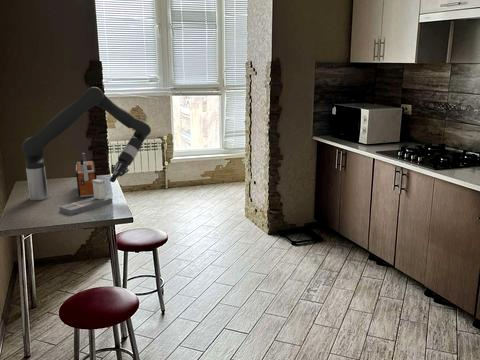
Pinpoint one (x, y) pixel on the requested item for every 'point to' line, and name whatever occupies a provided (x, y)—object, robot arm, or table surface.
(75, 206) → the fader console
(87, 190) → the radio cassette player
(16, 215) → the table surface
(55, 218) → the table surface
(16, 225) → the table surface
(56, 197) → the table surface
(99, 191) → the fader tab
